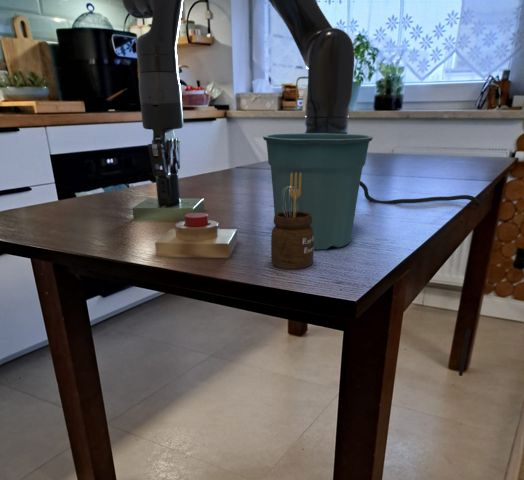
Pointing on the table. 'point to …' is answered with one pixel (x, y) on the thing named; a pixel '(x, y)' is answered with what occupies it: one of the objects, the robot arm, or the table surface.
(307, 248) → the utensil holder
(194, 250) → the button block
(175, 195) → the black cylinder
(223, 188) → the table surface
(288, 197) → the flower pot
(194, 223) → the button
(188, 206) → the panel
